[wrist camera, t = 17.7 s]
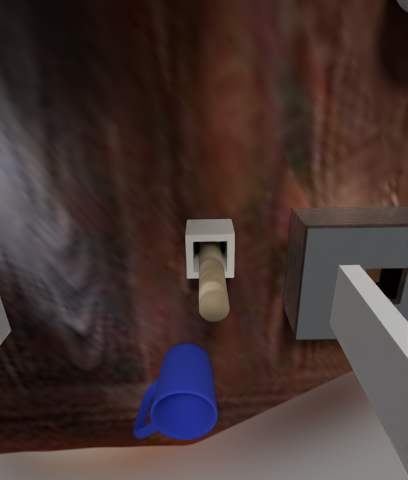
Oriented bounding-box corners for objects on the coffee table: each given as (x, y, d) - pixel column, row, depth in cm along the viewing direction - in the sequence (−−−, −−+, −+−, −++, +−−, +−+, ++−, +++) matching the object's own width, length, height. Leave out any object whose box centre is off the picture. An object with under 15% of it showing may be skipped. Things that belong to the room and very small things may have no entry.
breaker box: (283, 305, 47) (296, 339, 41) (291, 207, 42) (308, 228, 35) (415, 304, 47) (448, 337, 41) (441, 205, 42) (484, 225, 35)
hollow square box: (188, 259, 44) (187, 278, 40) (187, 219, 42) (185, 235, 38) (230, 258, 44) (233, 277, 40) (231, 219, 42) (234, 234, 38)
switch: (342, 272, 45) (349, 282, 43) (346, 247, 43) (354, 255, 41) (370, 272, 45) (378, 281, 43) (375, 247, 43) (384, 255, 41)
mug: (127, 366, 51) (111, 426, 42) (192, 326, 48) (189, 380, 39) (163, 399, 54) (155, 462, 45) (226, 362, 51) (231, 421, 42)
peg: (199, 250, 44) (199, 321, 30) (199, 231, 43) (198, 296, 29) (219, 250, 44) (229, 321, 30) (219, 231, 43) (229, 295, 29)
